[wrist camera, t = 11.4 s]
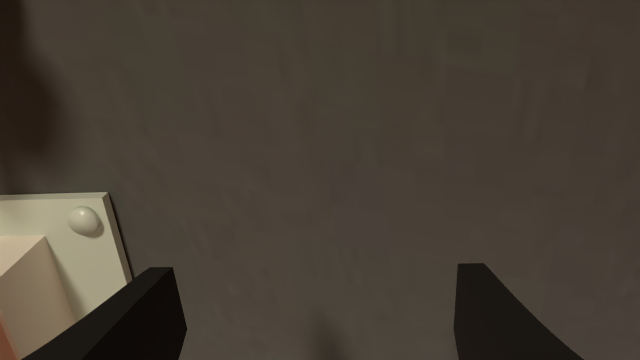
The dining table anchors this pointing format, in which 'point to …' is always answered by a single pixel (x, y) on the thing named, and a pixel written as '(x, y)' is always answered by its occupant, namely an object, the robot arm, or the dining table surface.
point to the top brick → (5, 347)
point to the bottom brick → (31, 294)
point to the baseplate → (73, 242)
